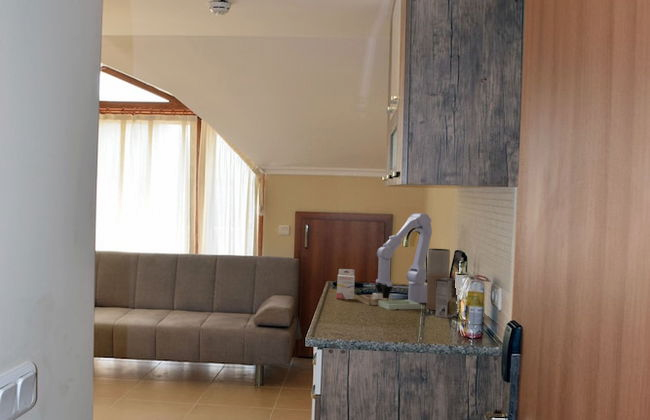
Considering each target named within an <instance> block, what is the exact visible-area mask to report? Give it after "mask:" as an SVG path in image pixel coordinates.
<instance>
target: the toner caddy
mask: <svg viewBox="0 0 650 420" xmlns="http://www.w3.org/2000/svg"><path fill="white" fill-rule="evenodd" d="M372 295H373V297H372V298H383V293H382V292H377V291H376V292H373V293H372ZM392 299H393V294H392V293H390V294H389V298H388V301H393V300H392Z"/></svg>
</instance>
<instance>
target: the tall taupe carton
mask: <svg viewBox="0 0 650 420" xmlns="http://www.w3.org/2000/svg"><path fill="white" fill-rule="evenodd" d="M450 258H451V249H447V248H428V252H427V273H426V285H427V301H426V303H425V304H426V305H425V306H426V310H429V311H436V285H437V279H443V278H450V265H451V264H450V263H451V259H450Z"/></svg>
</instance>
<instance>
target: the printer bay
mask: <svg viewBox="0 0 650 420" xmlns="http://www.w3.org/2000/svg"><path fill="white" fill-rule="evenodd" d="M372 297H373V294H359V295H358V302H360V303H363V304H366V305H368V306H378V301H388V299H387V298H372Z"/></svg>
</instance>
